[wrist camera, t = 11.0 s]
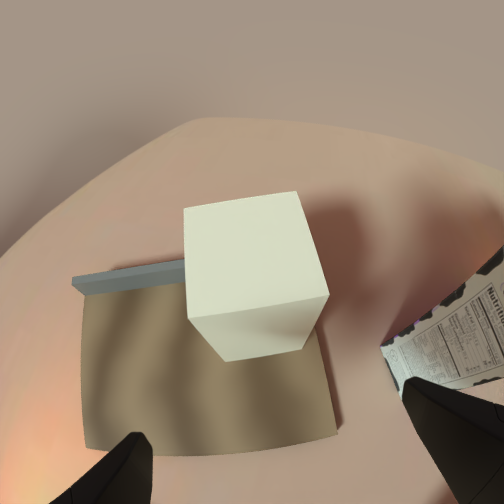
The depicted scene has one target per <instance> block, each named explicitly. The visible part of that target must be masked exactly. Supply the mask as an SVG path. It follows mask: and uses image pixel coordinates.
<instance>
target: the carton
mask: <svg viewBox="0 0 504 504" xmlns="http://www.w3.org/2000/svg"><path fill="white" fill-rule="evenodd" d="M184 254H185V280H186V299H187V315H188V319H189V320H190V322H191V323H192V324H193V325H194V326H195V328H196V329H197V330H198V331H199V332H200V334H201V335H202V336H203V337H204V338H205V339H206V341H207V342H208V343H209V344H210V345H211V346H212V348H213V349H214V350H215V351H216V352H217V353H218V354H219V356H220V357H221V358H222V359H223V360H224V361H225V362H229V361H236V360H243V359H250V358H256V357H262V356H268V355H274V354H279V353H285V352H290V351H295V350H300V349H302V347H303V346H304V344H305V342H306V340H307V338H308V336H309V334H310V333H311V331H312V329H313V327H314V325H315V323H316V321H317V319H318V317H319V315H320V313H321V311H322V309H323V307H324V305H325V303H326V301H327V299H328V297H329V295H330V294H329V291H328V287H327V284H326V280H325V277H324V274H323V270H322V267H321V264H320V261H319V258H318V254H317V251H316V248H315V245H314V242H313V239H312V236H311V233H310V230H309V227H308V224H307V221H306V218H305V215H304V212H303V209H302V206H301V203H300V200H299V197H298V195H297V192H296V191H292V192H285V193H277V194H270V195H263V196H256V197H249V198H243V199H236V200H230V201H224V202H218V203H212V204H206V205H200V206H195V207H189V208H184Z"/></svg>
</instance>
